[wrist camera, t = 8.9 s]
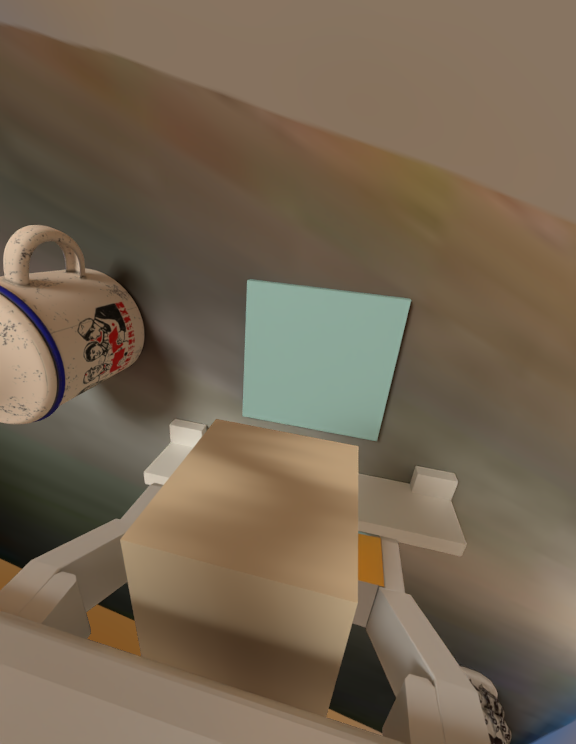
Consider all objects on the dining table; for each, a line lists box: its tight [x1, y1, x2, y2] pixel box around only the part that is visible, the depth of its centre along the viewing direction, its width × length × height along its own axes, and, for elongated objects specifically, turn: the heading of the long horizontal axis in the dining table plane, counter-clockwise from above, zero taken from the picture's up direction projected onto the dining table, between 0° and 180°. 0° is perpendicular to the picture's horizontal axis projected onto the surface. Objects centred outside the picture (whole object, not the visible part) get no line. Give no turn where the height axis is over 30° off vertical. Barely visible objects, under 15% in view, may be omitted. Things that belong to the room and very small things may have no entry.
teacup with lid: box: [0, 225, 144, 424], centre depth 20 cm, size 12×9×12 cm
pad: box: [242, 279, 411, 441], centre depth 24 cm, size 11×11×1 cm
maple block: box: [120, 419, 358, 717], centre depth 10 cm, size 5×5×5 cm
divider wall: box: [144, 419, 467, 557], centre depth 26 cm, size 24×5×5 cm, turn 85°
